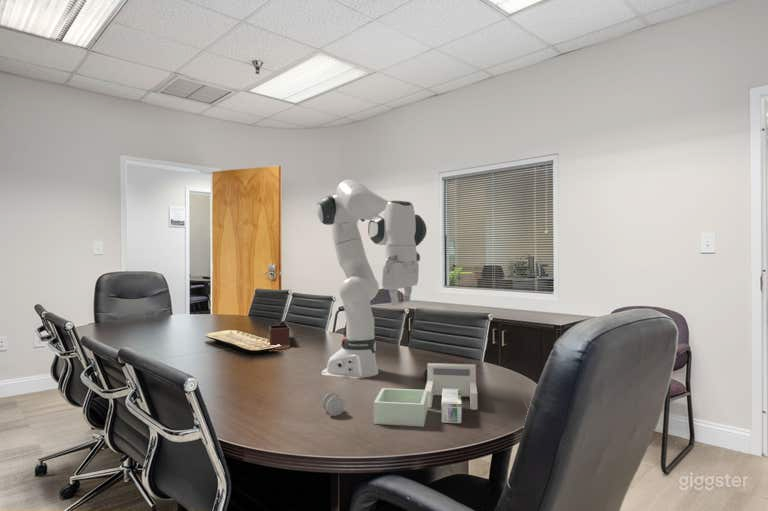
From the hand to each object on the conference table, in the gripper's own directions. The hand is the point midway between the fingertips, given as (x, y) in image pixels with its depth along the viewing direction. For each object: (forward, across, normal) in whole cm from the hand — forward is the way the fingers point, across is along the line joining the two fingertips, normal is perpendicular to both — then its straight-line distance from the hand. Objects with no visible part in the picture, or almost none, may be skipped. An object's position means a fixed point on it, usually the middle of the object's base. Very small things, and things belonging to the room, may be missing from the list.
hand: (401, 303), depth 135 cm
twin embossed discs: (+33, -5, +20) cm, 39 cm away
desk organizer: (+34, +77, +99) cm, 130 cm away
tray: (+33, 0, 0) cm, 33 cm away
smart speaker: (+34, +41, +2) cm, 53 cm away
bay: (+33, +19, -10) cm, 40 cm away
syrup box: (+30, +14, -11) cm, 35 cm away
